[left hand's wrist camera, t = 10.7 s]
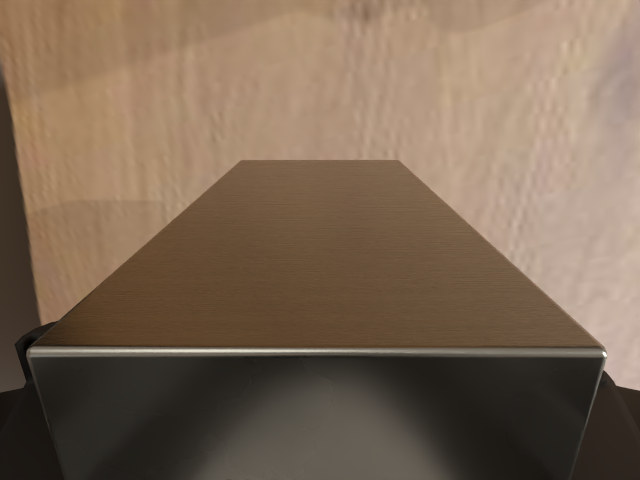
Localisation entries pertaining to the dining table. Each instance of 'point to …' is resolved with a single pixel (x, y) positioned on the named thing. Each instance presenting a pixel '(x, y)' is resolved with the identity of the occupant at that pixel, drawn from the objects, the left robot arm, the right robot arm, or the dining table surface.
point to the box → (317, 343)
